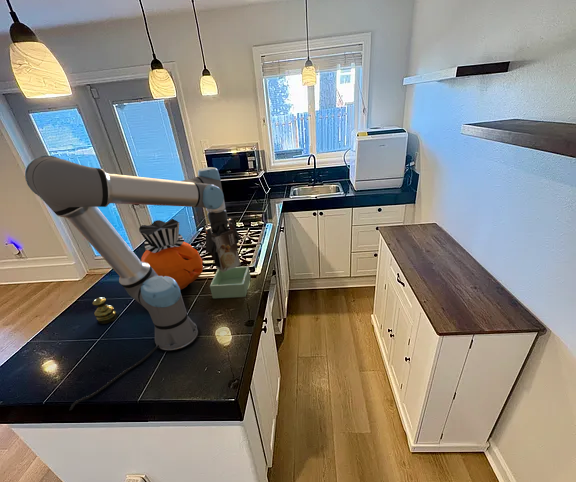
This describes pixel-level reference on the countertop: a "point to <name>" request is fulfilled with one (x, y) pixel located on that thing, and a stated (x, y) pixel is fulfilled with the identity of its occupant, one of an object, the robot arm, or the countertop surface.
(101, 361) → the countertop surface
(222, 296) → the tote
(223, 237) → the coffee box
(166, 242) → the jack-o'-lantern
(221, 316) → the countertop surface
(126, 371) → the robot arm
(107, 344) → the countertop surface
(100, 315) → the brass knobbed piece
